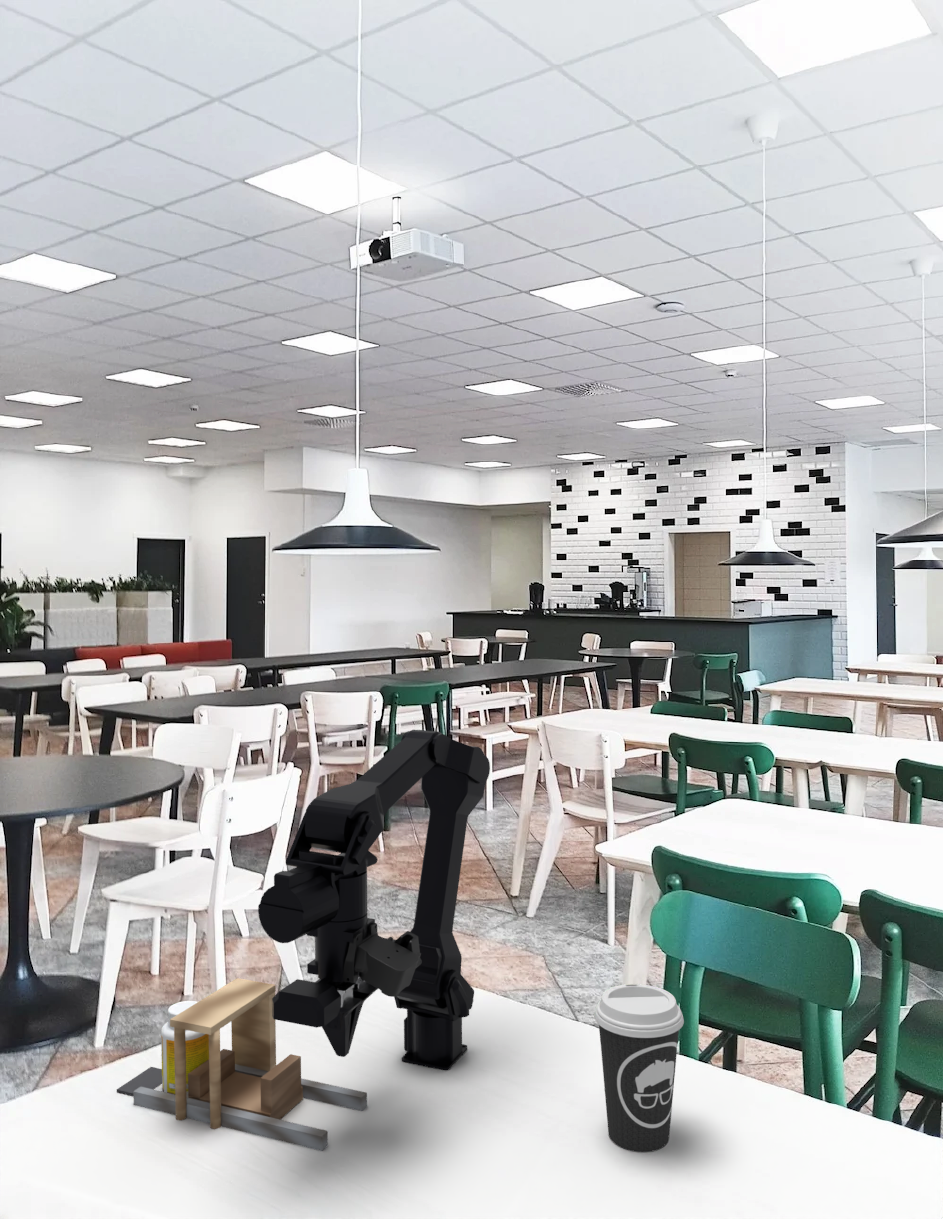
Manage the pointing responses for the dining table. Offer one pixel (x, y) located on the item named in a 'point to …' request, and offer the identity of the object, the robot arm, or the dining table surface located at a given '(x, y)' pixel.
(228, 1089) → the sled
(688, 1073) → the dining table surface
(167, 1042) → the supplement bottle
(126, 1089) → the pad
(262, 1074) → the tunnel track
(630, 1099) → the coffee cup
